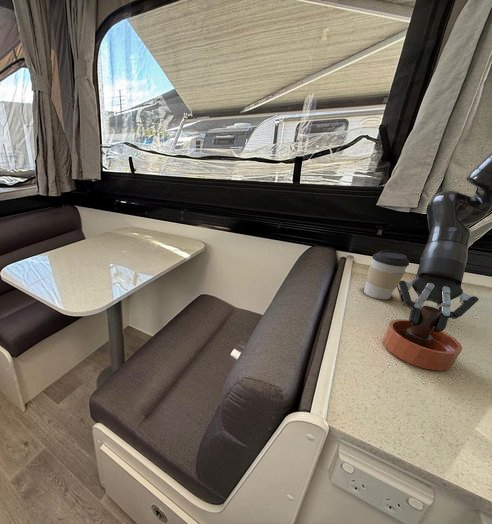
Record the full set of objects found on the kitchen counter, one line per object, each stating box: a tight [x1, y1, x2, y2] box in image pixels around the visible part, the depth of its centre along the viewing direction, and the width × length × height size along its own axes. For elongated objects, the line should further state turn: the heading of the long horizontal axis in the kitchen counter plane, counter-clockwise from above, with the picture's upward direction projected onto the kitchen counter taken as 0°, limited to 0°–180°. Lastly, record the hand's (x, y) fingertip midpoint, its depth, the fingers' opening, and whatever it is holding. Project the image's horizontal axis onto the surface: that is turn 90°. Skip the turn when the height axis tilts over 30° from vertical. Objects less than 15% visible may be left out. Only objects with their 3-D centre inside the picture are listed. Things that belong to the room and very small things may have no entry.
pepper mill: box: [403, 305, 442, 348], centre depth 64 cm, size 5×5×10 cm
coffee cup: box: [363, 249, 411, 300], centre depth 88 cm, size 9×9×15 cm
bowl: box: [382, 319, 463, 371], centre depth 65 cm, size 12×12×6 cm
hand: (425, 327), depth 62 cm, fingers closed on pepper mill, 3 cm apart
